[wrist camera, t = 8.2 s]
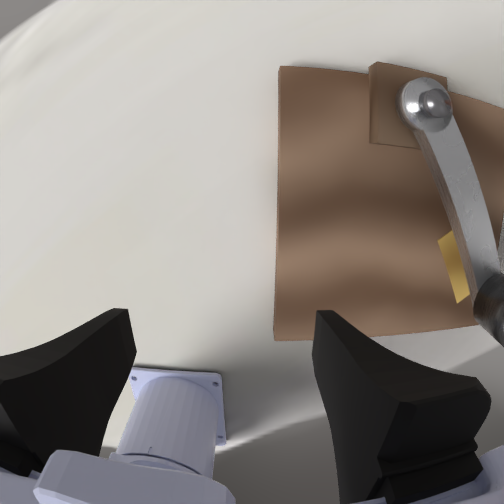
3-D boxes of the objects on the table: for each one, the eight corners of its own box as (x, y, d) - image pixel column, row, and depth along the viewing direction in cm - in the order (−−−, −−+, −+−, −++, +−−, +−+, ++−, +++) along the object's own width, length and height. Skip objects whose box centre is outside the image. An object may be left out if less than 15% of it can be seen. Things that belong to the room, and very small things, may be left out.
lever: (380, 95, 15) (431, 76, 10) (428, 72, 15) (486, 52, 9) (467, 325, 20) (509, 366, 14) (503, 297, 19) (547, 331, 14)
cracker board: (470, 316, 24) (487, 333, 21) (273, 329, 24) (276, 353, 21) (496, 105, 18) (520, 103, 15) (278, 64, 18) (282, 51, 15)
